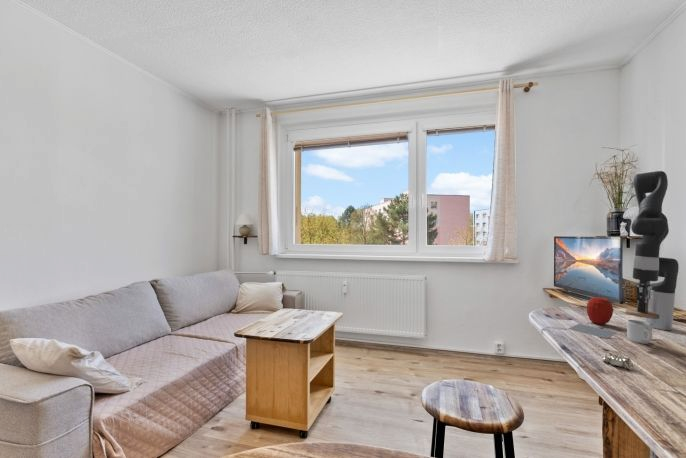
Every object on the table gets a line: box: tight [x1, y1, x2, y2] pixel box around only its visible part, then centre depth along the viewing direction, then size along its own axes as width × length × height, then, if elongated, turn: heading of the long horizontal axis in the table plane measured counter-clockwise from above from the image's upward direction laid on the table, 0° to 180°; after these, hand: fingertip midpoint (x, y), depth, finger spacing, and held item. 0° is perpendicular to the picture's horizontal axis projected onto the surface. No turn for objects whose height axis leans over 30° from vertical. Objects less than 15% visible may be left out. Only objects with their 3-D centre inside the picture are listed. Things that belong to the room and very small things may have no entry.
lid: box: [625, 300, 659, 319], centre depth 134 cm, size 10×10×6 cm
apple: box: [586, 294, 614, 326], centre depth 159 cm, size 10×10×14 cm
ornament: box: [602, 351, 635, 371], centre depth 110 cm, size 8×7×4 cm
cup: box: [626, 319, 654, 345], centre depth 134 cm, size 11×8×8 cm
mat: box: [567, 323, 618, 340], centre depth 146 cm, size 15×14×1 cm
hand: (642, 310), depth 134 cm, fingers closed on lid, 3 cm apart
